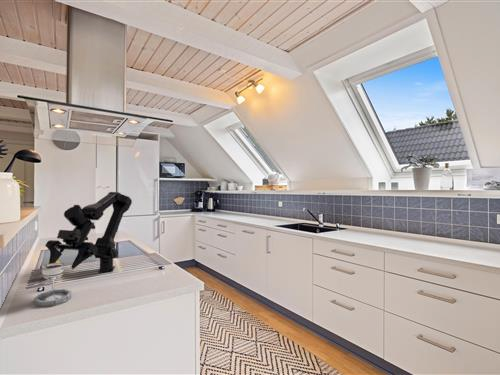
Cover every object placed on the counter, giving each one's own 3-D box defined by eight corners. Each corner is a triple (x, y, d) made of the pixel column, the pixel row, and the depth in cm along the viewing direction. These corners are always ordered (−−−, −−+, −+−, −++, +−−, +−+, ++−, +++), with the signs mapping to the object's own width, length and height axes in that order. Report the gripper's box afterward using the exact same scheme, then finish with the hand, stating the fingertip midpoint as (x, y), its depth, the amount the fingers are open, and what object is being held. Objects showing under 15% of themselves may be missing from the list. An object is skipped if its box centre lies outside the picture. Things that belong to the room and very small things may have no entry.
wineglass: (44, 295, 105) (44, 263, 105) (66, 292, 108) (66, 261, 108) (39, 303, 99) (39, 269, 99) (62, 300, 102) (62, 267, 101)
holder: (42, 295, 107) (42, 290, 107) (75, 292, 110) (75, 287, 110) (28, 308, 97) (28, 303, 97) (65, 305, 100) (65, 300, 100)
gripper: (48, 220, 112) (24, 255, 102) (92, 222, 110) (72, 258, 100) (63, 235, 120) (42, 269, 110) (105, 237, 118) (87, 272, 108)
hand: (60, 267), depth 107 cm, fingers open, 9 cm apart
